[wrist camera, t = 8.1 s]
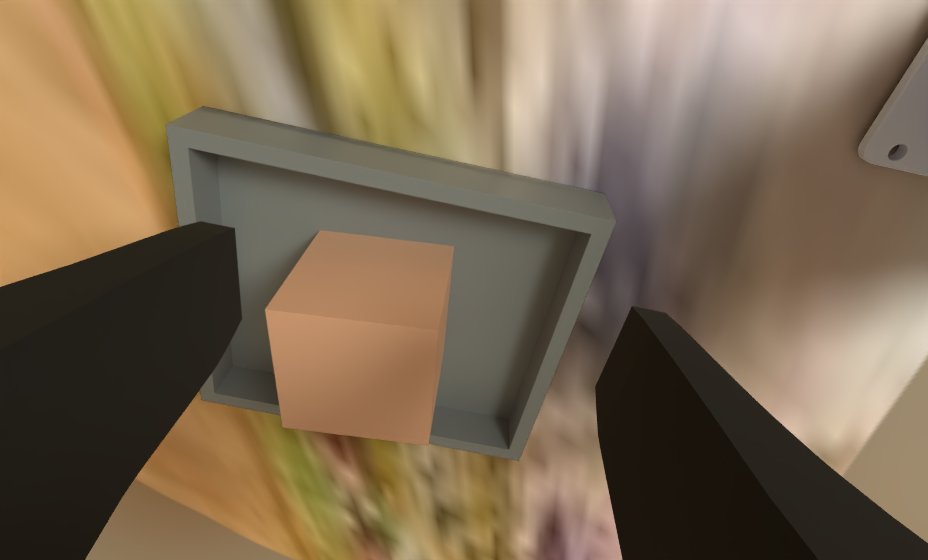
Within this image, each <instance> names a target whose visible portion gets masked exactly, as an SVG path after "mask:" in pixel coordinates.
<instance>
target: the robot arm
mask: <svg viewBox="0 0 928 560" xmlns="http://www.w3.org/2000/svg"><path fill="white" fill-rule="evenodd" d="M896 145H899V148H898V150H897V151H896V152H895V153H894V154H893V155H891V156H888V154H889V151H890V150H891V149H892V148H893V147H894V146H896ZM858 155H859V156H860V158H861V159H863V160H865V161H867V162H869V163H871V164H874V165H879V166H883V167H887V168H892V169H896V170H901V171H905V172H909V173H914V174H918V175H923V176H927V177H928V38H927V40H926V41H925V43H924V44H923V46H922V48H921V49H920V51H919V52H918V54H917V55H916V57H915V58H914V60H913V62H912V63H911V65H910V66H909V68H908V69H907V71H906V72H905V74H904V76H903V77H902V79H901V80H900V82H899V83H898V85H897V86H896V88H895V90H894V91H893V93H892V94H891V96H890V97H889V99H888V100H887V102H886V103H885V105H884V107H883V108H882V110H881V111H880V113H879V114H878V116H877V117H876V119H875V121H874V122H873V124H872V125H871V127H870V128H869V130H868V131H867V133H866V135H865V136H864V138H863V139H862V141H861V142H860V145H859V147H858ZM241 320H242V310H241V298H240V285H239V273H238V260H237V248H236V235H235V228H232V227H227V226H222V225H217V224H212V223H207V222H202V221H200V222H195V223H191V224H188V225H184V226H181V227H178V228H174V229H171V230H168V231H165V232H162V233H159V234H156V235H154V236H151V237H148V238H145V239H142V240H139V241H136V242H134V243H131V244H128V245H125V246H122V247H119V248H117V249H114V250H111V251H108V252H105V253H102V254H100V255H97V256H94V257H91V258H88V259H85V260H82V261H80V262H77V263H74V264H71V265H68V266H65V267H62V268H58V269H55V270H52V271H49V272H46V273H43V274H40V275H36V276H33V277H30V278H27V279H24V280H21V281H18V282H14V283H11V284H8V285H5V286H2V287H0V560H85V559H86V557H87V555H88V553H89V552H90V550H91V549H92V547H93V545H94V543H95V542H96V540H97V538H98V537H99V535H100V534H101V532H102V530H103V528H104V527H105V525H106V523H107V522H108V520H109V518H110V517H111V515H112V513H113V512H114V510H115V508H116V507H117V505H118V503H119V501H120V500H121V498H122V496H123V495H124V494H125V492H126V491H127V489H128V488H129V486H130V485H131V483H132V482H133V480H134V479H135V478H136V476H137V475H138V473H139V472H140V470H141V469H142V468H143V466H144V465H145V463H146V462H147V461H148V459H149V458H150V457H151V455H152V454H153V453H154V451H155V450H156V449H157V447H158V446H159V444H160V443H161V442H162V440H163V439H164V438H165V436H166V435H167V434H168V432H169V431H170V430H171V428H172V427H173V426H174V424H175V423H176V421H177V420H178V419H179V417H180V416H181V415H182V413H183V412H184V411H185V409H186V408H187V407H188V405H189V404H190V403H191V401H192V400H193V398H194V397H195V396H196V394H197V393H198V392H199V390H200V389H201V387H202V386H203V385H204V383H205V382H206V381H207V379H208V378H209V376H210V375H211V374H212V372H213V371H214V369H215V368H216V366H217V365H218V363H219V362H220V360H221V358H222V356H223V354H224V353H225V351H226V349H227V347H228V345H229V344H230V342H231V340H232V338H233V336H234V334H235V332H236V330H237V328H238V326H239V324H240V322H241ZM595 388H596V411H597V426H598V437H599V443H600V449H601V454H602V459H603V464H604V469H605V474H606V480H607V485H608V489H609V494H610V499H611V504H612V509H613V514H614V519H615V524H616V529H617V534H618V539H619V544H620V549H621V554H622V559H623V560H928V543H927V542H926V541H924V540H923V539H921V538H920V537H919V536H917V535H916V534H915V533H913V532H912V531H911V530H909V529H908V528H906V527H905V526H904V525H903V524H901V523H900V522H899V521H897V520H896V519H894V518H893V517H892V516H891V515H889V514H888V513H887V512H885V511H884V510H883V509H882V508H881V507H879V506H878V505H877V504H876V503H874V502H873V501H872V500H870V499H869V498H868V497H867V496H865V495H864V494H863V493H862V492H860V491H859V490H858V489H857V488H855V487H854V486H853V485H852V484H850V483H849V482H848V481H847V480H845V479H844V478H843V477H842V476H840V475H839V474H838V473H837V472H836V471H834V470H833V469H832V468H831V467H830V466H828V465H827V464H826V463H825V462H824V461H822V460H821V459H820V458H819V457H818V456H817V455H815V454H814V453H813V452H812V451H811V450H810V449H809V448H808V447H806V446H805V445H804V444H803V443H802V442H801V441H800V440H799V439H797V438H796V437H795V436H794V435H793V434H792V433H791V432H790V431H789V430H787V429H786V428H785V427H784V426H783V425H782V424H781V423H780V422H778V421H777V420H776V419H775V418H774V417H773V416H772V415H771V414H770V413H769V412H768V411H767V410H766V409H765V408H763V407H762V406H761V405H760V404H759V403H758V402H757V401H756V400H755V399H754V398H753V397H752V396H751V395H750V394H749V393H748V392H747V391H746V390H745V389H744V388H743V387H742V386H741V385H740V384H739V383H738V382H736V381H735V380H734V379H733V378H732V377H731V376H730V375H729V374H728V373H727V372H726V371H725V370H724V369H723V368H722V367H721V366H720V365H719V364H718V363H717V362H716V361H715V360H714V359H713V358H712V357H711V356H710V355H709V354H708V353H707V352H706V351H705V350H704V349H703V348H702V347H701V346H700V345H699V344H698V343H697V342H696V341H695V340H694V339H693V338H692V337H691V336H690V335H689V334H688V333H687V332H686V331H685V330H684V329H683V328H682V327H681V326H680V325H679V324H677V323H676V322H675V321H674V320H673V319H672V318H671V317H669V316H668V315H667V314H666V313H663V312H658V311H653V310H648V309H643V308H638V307H633V306H632V307H631V310H630V312H629V314H628V316H627V318H626V321H625V323H624V325H623V327H622V329H621V332H620V334H619V336H618V338H617V340H616V343H615V345H614V347H613V349H612V351H611V354H610V356H609V358H608V360H607V362H606V365H605V367H604V369H603V371H602V373H601V376H600V378H599V380H598V382H597V384H596V387H595Z"/></svg>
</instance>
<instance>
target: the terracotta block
mask: <svg viewBox="0 0 928 560" xmlns="http://www.w3.org/2000/svg"><path fill="white" fill-rule="evenodd" d="M453 252H454V246H448V245H440V244H432V243H423V242H415V241H407V240H398V239H390V238H381V237H373V236H365V235H356V234H348V233H340V232H331V231H323V230H320V231H319V232H318V234H317V235H316V236H315V238H314V239H313V241H312V242H311V244H310V245H309V247H308V248H307V249H306V251H305V252H304V254H303V255H302V257H301V258H300V260H299V261H298V262H297V264H296V265H295V267H294V268H293V270H292V271H291V273H290V274H289V275H288V277H287V278H286V280H285V281H284V283H283V284H282V286H281V287H280V288H279V290H278V291H277V293H276V294H275V296H274V297H273V299H272V300H271V301H270V303H269V304H268V306H267V307H266V309H265V313H266V320H267V327H268V333H269V340H270V347H271V353H272V360H273V367H274V373H275V380H276V387H277V393H278V400H279V407H280V413H281V420H282V427H283V428H291V429H299V430H307V431H315V432H323V433H331V434H339V435H347V436H355V437H363V438H371V439H380V440H388V441H396V442H404V443H412V444H420V445H429V439H430V433H431V427H432V421H433V415H434V409H435V402H436V396H437V390H438V384H439V378H440V372H441V365H442V359H443V353H444V346H445V335H446V325H447V314H448V304H449V294H450V283H451V273H452V263H453Z"/></svg>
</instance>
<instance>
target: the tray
mask: <svg viewBox="0 0 928 560" xmlns="http://www.w3.org/2000/svg"><path fill="white" fill-rule="evenodd" d="M166 129H167V137H168V145H169V152H170V160H171V168H172V176H173V184H174V191H175V199H176V207H177V215H178V222H179V227H181V226H184V225H188V224H191V223H195V222H200V221H202V222H207V223H212V224H217V225H222V226H227V227H232V228H235V235H236V248H237V260H238V273H239V285H240V298H241V310H242V320H241V322H240V324H239V326H238V328H237V330H236V332H235V334H234V336H233V338H232V340H231V342H230V344H229V345H228V347H227V349H226V351H225V353H224V354H223V356H222V358H221V360H220V362H219V363H218V365H217V366H216V368H215V369H214V371H213V372H212V374H211V375H210V376H209V378H208V379H207V381H206V382H205V383H204V385H203V386H202V387H201V389H200V393H201V400H203V401H208V402H213V403H219V404H224V405H229V406H234V407H240V408H245V409H250V410H255V411H260V412H266V413H271V414H276V415H281V413H280V407H279V400H278V393H277V387H276V380H275V373H274V367H273V360H272V353H271V347H270V340H269V333H268V327H267V320H266V313H265V309H266V307H267V306H268V304H269V303H270V301H271V300H272V299H273V297H274V296H275V294H276V293H277V291H278V290H279V288H280V287H281V286H282V284H283V283H284V281H285V280H286V278H287V277H288V275H289V274H290V273H291V271H292V270H293V268H294V267H295V265H296V264H297V262H298V261H299V260H300V258H301V257H302V255H303V254H304V252H305V251H306V249H307V248H308V247H309V245H310V244H311V242H312V241H313V239H314V238H315V236H316V235H317V234H318V232H319V231H320V230H323V231H331V232H340V233H348V234H356V235H365V236H373V237H381V238H390V239H398V240H407V241H415V242H423V243H432V244H440V245H448V246H454V252H453V263H452V273H451V283H450V294H449V304H448V314H447V325H446V335H445V346H444V353H443V359H442V365H441V372H440V378H439V384H438V390H437V396H436V402H435V409H434V415H433V421H432V427H431V433H430V439H429V444H432V445H438V446H443V447H448V448H453V449H459V450H464V451H469V452H474V453H479V454H485V455H490V456H495V457H500V458H505V459H511V460H516V461H519V460H520V457H521V455H522V452H523V450H524V447H525V445H526V443H527V440H528V438H529V435H530V433H531V430H532V428H533V425H534V423H535V420H536V418H537V416H538V413H539V411H540V408H541V406H542V403H543V401H544V398H545V396H546V393H547V391H548V388H549V386H550V384H551V381H552V379H553V376H554V374H555V371H556V369H557V366H558V364H559V361H560V359H561V357H562V354H563V352H564V349H565V347H566V344H567V342H568V339H569V337H570V334H571V332H572V330H573V327H574V325H575V322H576V320H577V317H578V315H579V312H580V310H581V307H582V305H583V303H584V300H585V298H586V295H587V293H588V290H589V288H590V285H591V283H592V280H593V278H594V275H595V273H596V271H597V268H598V266H599V263H600V261H601V258H602V256H603V253H604V251H605V248H606V246H607V244H608V241H609V239H610V236H611V234H612V231H613V229H614V226H615V224H616V219H615V217H614V214H613V212H612V209H611V207H610V205H609V202H608V200H607V197H606V195H605V194H604V193H599V192H594V191H590V190H585V189H581V188H576V187H572V186H567V185H562V184H558V183H553V182H549V181H544V180H539V179H535V178H530V177H526V176H521V175H517V174H512V173H507V172H503V171H498V170H494V169H489V168H484V167H480V166H475V165H471V164H466V163H461V162H457V161H452V160H448V159H443V158H439V157H434V156H429V155H425V154H420V153H416V152H411V151H406V150H402V149H397V148H393V147H388V146H384V145H379V144H374V143H370V142H365V141H361V140H356V139H351V138H347V137H342V136H338V135H333V134H328V133H324V132H319V131H315V130H310V129H306V128H301V127H296V126H292V125H287V124H283V123H278V122H273V121H269V120H264V119H260V118H255V117H251V116H246V115H241V114H237V113H232V112H228V111H223V110H218V109H214V108H209V107H205V106H203V107H201V108H199V109H196V110H194V111H192V112H190V113H188V114H186V115H184V116H182V117H180V118H178V119H176V120H174V121H172V122H170V123H167V124H166Z"/></svg>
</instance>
